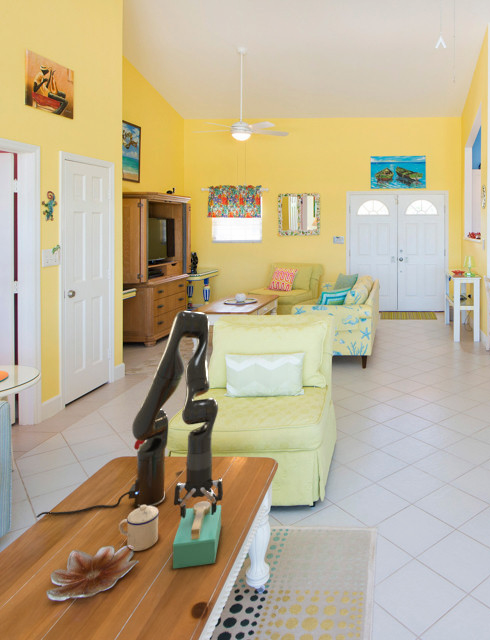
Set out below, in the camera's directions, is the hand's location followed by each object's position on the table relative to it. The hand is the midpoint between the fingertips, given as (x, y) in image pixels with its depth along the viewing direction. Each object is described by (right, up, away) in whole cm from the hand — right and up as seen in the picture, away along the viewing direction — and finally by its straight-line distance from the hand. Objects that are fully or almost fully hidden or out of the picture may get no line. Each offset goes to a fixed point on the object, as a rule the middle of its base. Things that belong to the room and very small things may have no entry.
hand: (198, 515), depth 146 cm
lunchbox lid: (0, -3, 0) cm, 3 cm away
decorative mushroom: (-41, -10, +50) cm, 66 cm away
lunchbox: (0, -10, 0) cm, 10 cm away
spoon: (0, -2, 0) cm, 2 cm away
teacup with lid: (-20, -10, +2) cm, 22 cm away
